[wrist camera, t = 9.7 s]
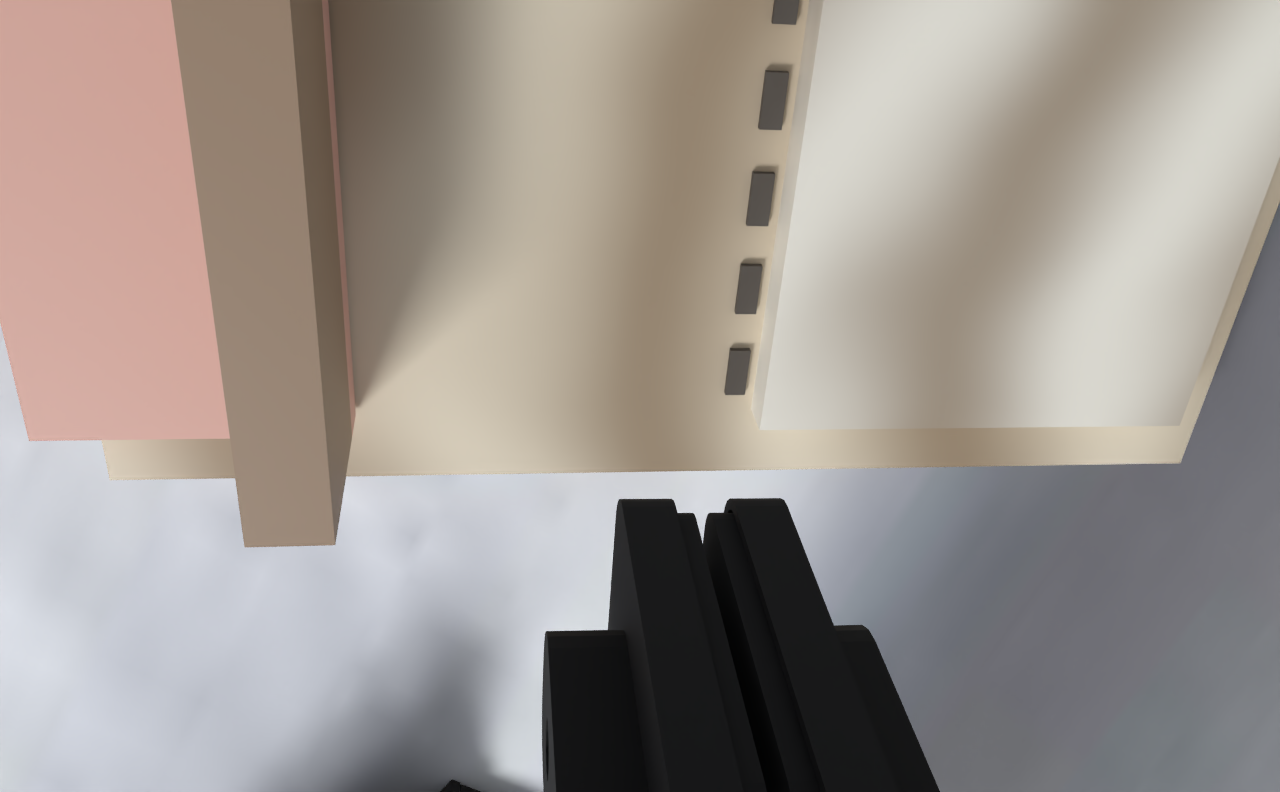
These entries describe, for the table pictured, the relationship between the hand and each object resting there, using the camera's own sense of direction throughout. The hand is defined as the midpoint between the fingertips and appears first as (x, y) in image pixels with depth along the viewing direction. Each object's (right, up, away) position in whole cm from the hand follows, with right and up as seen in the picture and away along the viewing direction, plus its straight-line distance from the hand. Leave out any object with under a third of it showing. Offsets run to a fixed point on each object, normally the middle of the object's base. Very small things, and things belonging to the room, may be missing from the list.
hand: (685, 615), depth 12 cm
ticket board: (+1, +7, +10) cm, 12 cm away
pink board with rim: (-8, +6, +7) cm, 12 cm away
